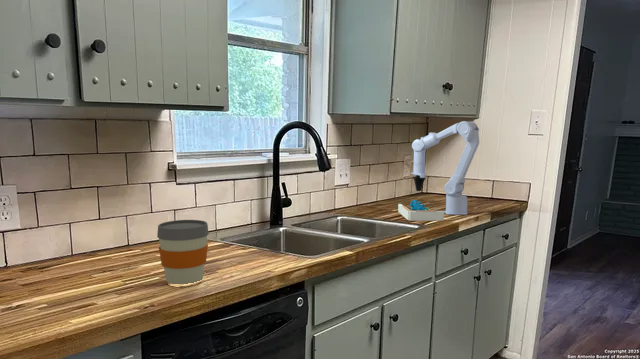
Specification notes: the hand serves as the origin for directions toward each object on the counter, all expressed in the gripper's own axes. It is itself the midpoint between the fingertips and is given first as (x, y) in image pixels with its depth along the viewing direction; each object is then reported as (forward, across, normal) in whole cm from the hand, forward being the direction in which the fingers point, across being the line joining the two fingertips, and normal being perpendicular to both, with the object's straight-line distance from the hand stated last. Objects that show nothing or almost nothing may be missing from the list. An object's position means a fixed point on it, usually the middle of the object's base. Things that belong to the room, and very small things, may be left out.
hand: (418, 190), depth 229 cm
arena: (+9, +18, -4) cm, 21 cm away
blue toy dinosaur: (+10, +20, -4) cm, 23 cm away
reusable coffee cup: (+10, +110, -88) cm, 141 cm away
